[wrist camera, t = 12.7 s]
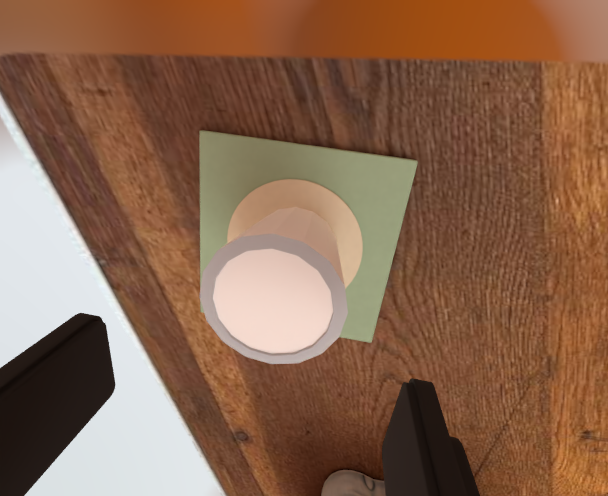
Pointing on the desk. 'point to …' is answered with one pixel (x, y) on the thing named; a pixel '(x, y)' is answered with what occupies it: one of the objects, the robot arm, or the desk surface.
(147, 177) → the desk surface
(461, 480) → the robot arm
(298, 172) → the mat
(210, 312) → the shot glass
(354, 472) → the teapot
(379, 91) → the desk surface
